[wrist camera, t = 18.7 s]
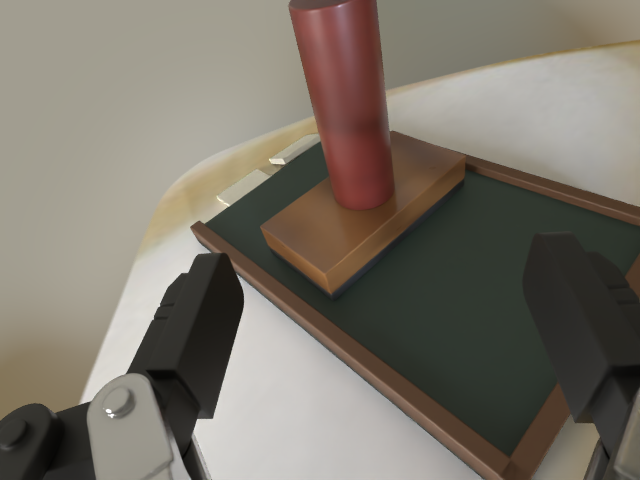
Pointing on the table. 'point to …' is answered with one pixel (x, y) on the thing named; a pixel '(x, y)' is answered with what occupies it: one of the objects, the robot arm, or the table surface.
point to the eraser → (355, 155)
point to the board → (443, 304)
